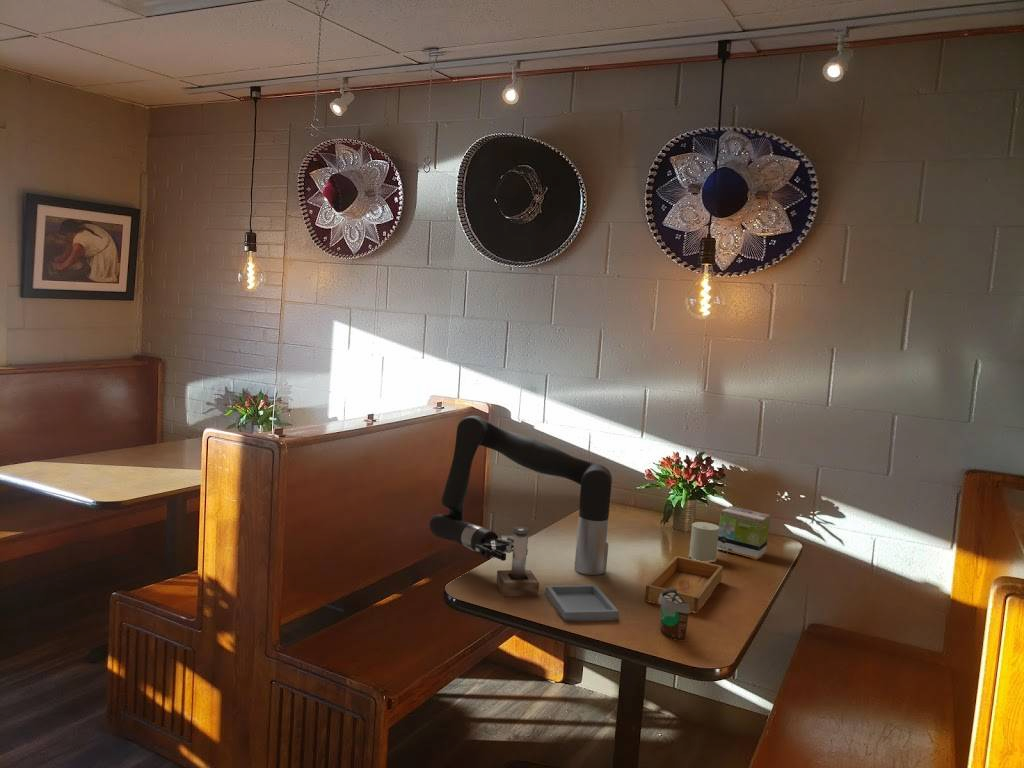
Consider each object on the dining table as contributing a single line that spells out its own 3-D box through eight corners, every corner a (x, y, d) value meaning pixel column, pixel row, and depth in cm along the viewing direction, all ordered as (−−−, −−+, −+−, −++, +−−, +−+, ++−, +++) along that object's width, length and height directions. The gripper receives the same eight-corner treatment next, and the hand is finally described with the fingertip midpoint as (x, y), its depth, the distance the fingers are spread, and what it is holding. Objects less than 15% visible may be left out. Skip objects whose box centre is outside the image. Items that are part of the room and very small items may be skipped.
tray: (696, 616, 219) (698, 596, 218) (644, 602, 226) (646, 583, 225) (721, 583, 246) (723, 566, 246) (674, 572, 253) (675, 555, 252)
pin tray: (594, 593, 229) (595, 584, 229) (618, 620, 211) (619, 611, 211) (545, 594, 226) (545, 585, 225) (564, 621, 207) (565, 612, 207)
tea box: (715, 550, 278) (719, 510, 276) (724, 544, 286) (729, 504, 285) (758, 561, 270) (762, 519, 268) (766, 554, 278) (771, 513, 277)
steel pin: (522, 586, 230) (527, 526, 228) (527, 592, 226) (531, 531, 223) (506, 586, 229) (511, 526, 227) (510, 593, 224) (515, 531, 222)
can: (686, 559, 266) (689, 525, 264) (690, 552, 274) (694, 518, 273) (714, 565, 262) (717, 530, 261) (717, 557, 271) (721, 523, 269)
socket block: (529, 583, 233) (530, 570, 233) (538, 596, 224) (539, 582, 223) (496, 583, 231) (497, 570, 230) (503, 596, 221) (504, 583, 221)
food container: (650, 622, 211) (653, 586, 210) (672, 623, 211) (676, 587, 210) (662, 642, 199) (666, 604, 198) (686, 643, 199) (690, 605, 198)
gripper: (462, 531, 234) (498, 546, 222) (497, 524, 243) (534, 538, 232) (460, 555, 234) (496, 571, 223) (496, 547, 244) (532, 562, 232)
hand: (516, 554), depth 227 cm, fingers open, 8 cm apart
